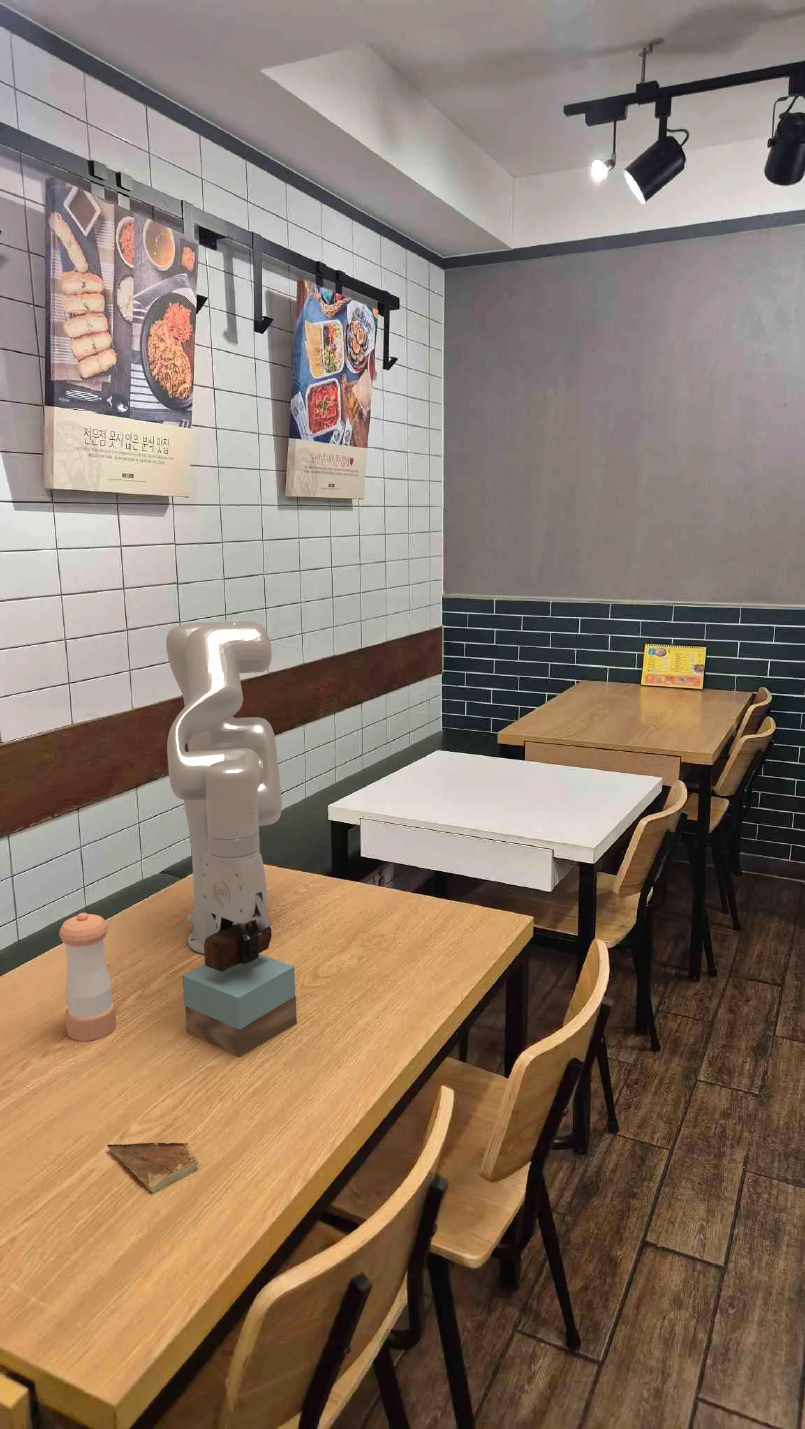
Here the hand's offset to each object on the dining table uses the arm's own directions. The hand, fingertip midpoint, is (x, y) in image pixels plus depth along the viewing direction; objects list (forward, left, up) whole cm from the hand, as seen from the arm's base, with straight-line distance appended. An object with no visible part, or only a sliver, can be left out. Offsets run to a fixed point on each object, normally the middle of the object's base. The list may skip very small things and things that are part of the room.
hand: (239, 955), depth 143 cm
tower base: (0, 0, -12) cm, 12 cm away
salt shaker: (-18, -15, -12) cm, 26 cm away
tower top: (0, 0, -7) cm, 7 cm away
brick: (0, 0, -1) cm, 1 cm away
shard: (+16, -29, -13) cm, 36 cm away
